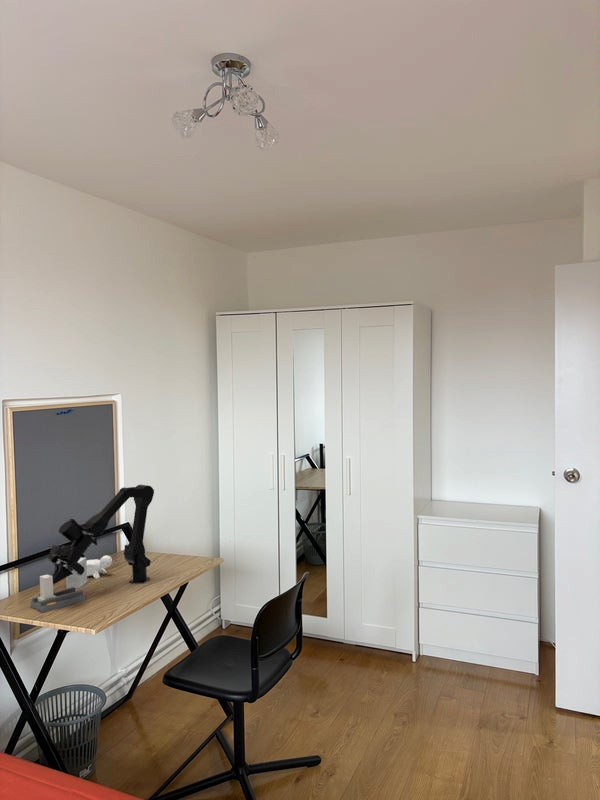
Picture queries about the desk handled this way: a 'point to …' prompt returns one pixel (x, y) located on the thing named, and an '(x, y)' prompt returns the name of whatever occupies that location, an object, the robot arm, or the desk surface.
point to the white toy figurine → (98, 566)
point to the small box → (77, 576)
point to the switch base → (58, 600)
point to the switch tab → (46, 587)
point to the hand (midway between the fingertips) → (51, 584)
